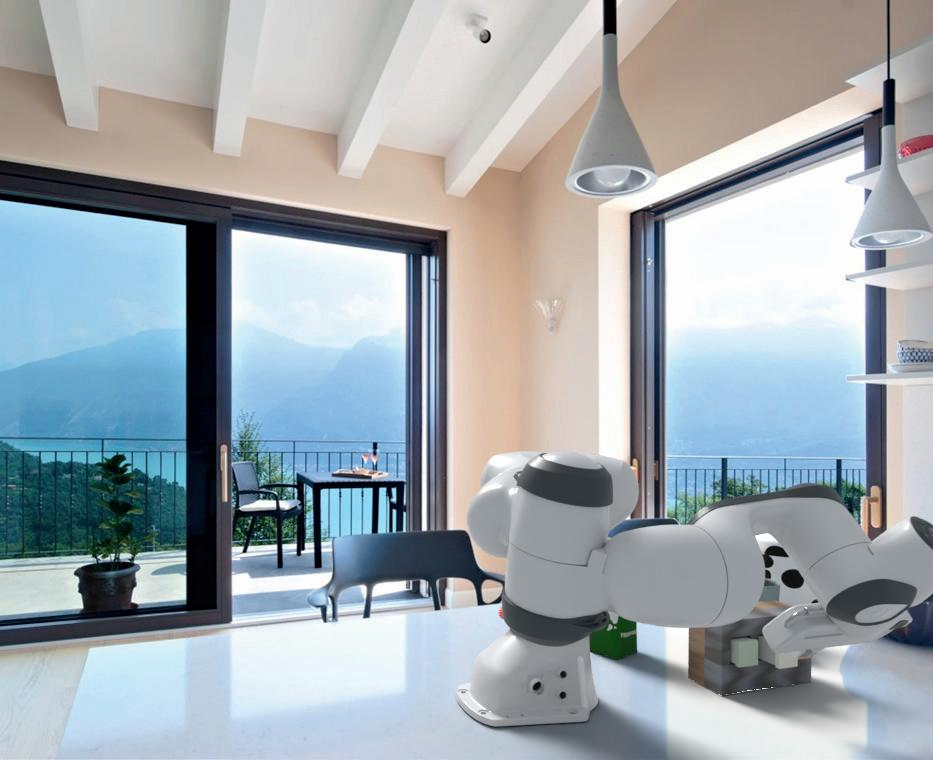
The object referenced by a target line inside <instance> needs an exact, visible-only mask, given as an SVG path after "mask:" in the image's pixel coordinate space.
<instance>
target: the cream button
mask: <svg viewBox="0 0 933 760" xmlns="http://www.w3.org/2000/svg"><path fill="white" fill-rule="evenodd" d="M758 658H759V659H762V660H764V661H766V662H769V663H771V664H773V665H775V667H776V668H778V669H783V668H790V667H797V666H798V658H793V657H792V656H791V654H790V652H785V653H774V652H773V651H772V649H771V648H770V646H769V645H768V643H767V641H766V639H765V638H764V636H763V635H762V636H758Z"/></svg>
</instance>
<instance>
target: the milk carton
mask: <svg viewBox="0 0 933 760" xmlns="http://www.w3.org/2000/svg"><path fill="white" fill-rule="evenodd" d="M608 612H609V615H610V620H609V622H608V624H607V625H606V626H605V627H604V628H603V629H601V630H599V631H595V632H592V634H591V639H590V653H591V652H592V653H595V654H598V655H601V656H605V657H607V658H611V659H614V660H617V661H619V660H621V659H623V658H625V657H628V656H630V655H633V654H635V653H637V652H638V635H637V634H638V632H637V630H638V629H637V626H638V625H637V623H638V622H634V621H630V620H627V619H624V618H622V617H620V616H619V615H617V614H616V613H614V612H611V611H608Z"/></svg>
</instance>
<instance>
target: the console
mask: <svg viewBox="0 0 933 760" xmlns="http://www.w3.org/2000/svg"><path fill="white" fill-rule="evenodd" d="M791 607H793V606H791V605H787V604H784V603H781V602H778V601H775V600H774V601H763V602H758V603H757V604H756V606H755V607H754V609H753V610H752V611H751V612H750V613H749V614H748V615H747V616H746V617H744V618H743V619H741V620H739V621H737V622H735V623H732V624H728V625H724V626H719V627H707V628H688V652H687V653H688V656H687V659H688V661H687V662H688V663H687V664H688V665H687V667H688V669H687V670H688V671H687V676H688V677H687V679H689V678H690V679H691V681H692V680H694V681H695V683H696V682H697V683H696V684H698V683H699V684H698V685H700V686H702V687H703V686H704V687H703V688H705V687H706V688H705V689H707V688H708V689H707V690H709V689H710V690H709V691H711V690H712V691H711V692H713V691H714V692H716V693H718V694H720V695H726V694H732V693H737V692H742V691H747V690H754V689H755V690H756V689H762V688H770V689H772V688H771V687H777V688H780V687H779V686H783V687H786V686H785V685H790V686H793V685H792V684H796V685H800V684H799V683H802V684H808V682H809V683H812V658H805V659H798V666H797V667H790V668H783V669H778V668H776V667H775V665H773V664H771V663H769V662H766V661H764V660H762V659H759V658H758V665H754V666H747V667H740V668H739V667H737V666H736V664H735V663H732V662H730V638H734V637H743V636H745V637H747V638H750V639H756V640H758V636H762V635H763V632H762V630H763V628H764V627H765V626H766V625H767V624H768V623H769V622H771V621H772V620H773V619H774V618H776V617H777V616H778V615H780V614H781V613H782V612H784V611H785V610H787V609H789V608H791ZM690 679H689V680H690ZM694 681H693V682H694ZM714 692H713V693H714ZM716 693H715V694H716ZM718 694H717V695H718ZM720 695H719V696H720ZM732 695H733V694H732ZM726 696H727V695H726Z"/></svg>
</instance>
